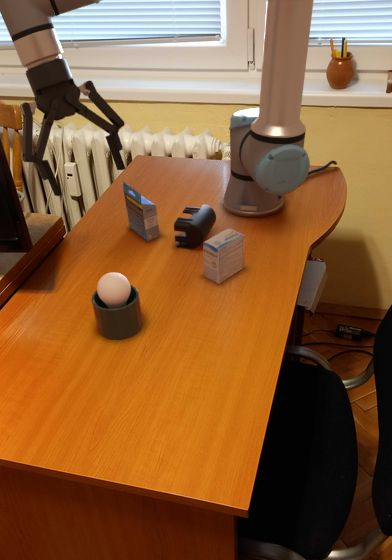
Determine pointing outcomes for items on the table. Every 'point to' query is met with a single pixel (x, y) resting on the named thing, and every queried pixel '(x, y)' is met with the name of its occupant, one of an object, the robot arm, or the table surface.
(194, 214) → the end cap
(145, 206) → the label tape box
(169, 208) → the table surface
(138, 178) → the table surface
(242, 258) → the medicine box
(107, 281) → the lightbulb
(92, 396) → the table surface
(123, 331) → the pen cup
